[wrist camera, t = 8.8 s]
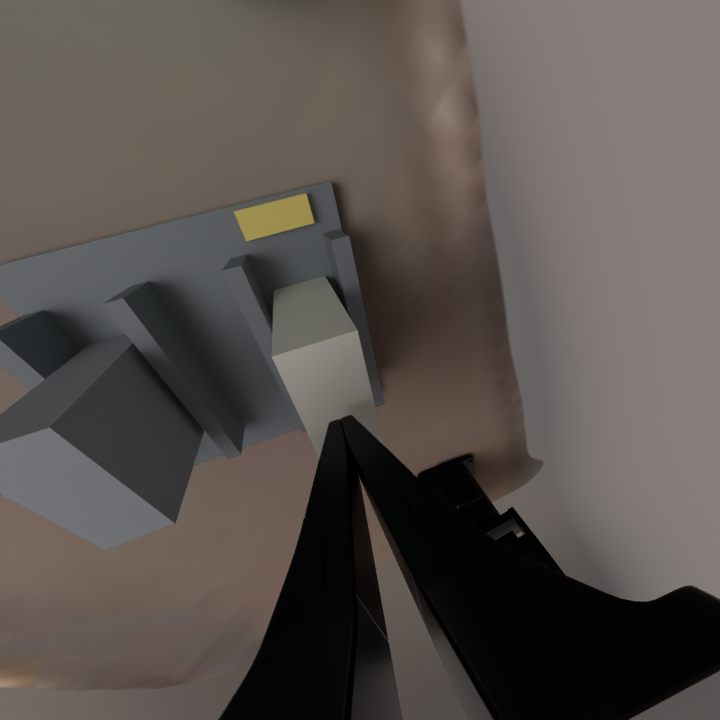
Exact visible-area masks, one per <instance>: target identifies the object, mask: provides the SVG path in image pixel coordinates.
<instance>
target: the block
mask: <svg viewBox="0 0 720 720" xmlns="http://www.w3.org/2000/svg"><path fill="white" fill-rule="evenodd" d="M272 359H273V361H274V363H275V365H276V367H277V369H278V372H279V374H280V376H281V378H282V380H283V382H284V384H285V386H286V389H287V391H288V393H289V395H290V397H291V399H292V401H293V403H294V406H295V408H296V410H297V412H298V414H299V416H300V418H301V420H302V422H303V425H304V427H305V429H306V431H307V433H308V435H309V437H310V439H311V442H312V444H313V446H314V448H315V450H316V452H317V454H318V456H319V458H320V455H321V451H322V447H323V443H324V439H325V435H326V431H327V428H328V424H329V422H331V421H333V420H336V419H340V420H341V418H342V417H345V416H348V415H353V416H354V417H355V418H356V419H357V420H358V421H359V422H360V423H361V424H362V425H363V426H364V427H365V428H366V429H367V430H368V431H369V432H370V433H371V434H372V435H373V436H375V437H376V438H377V439H378V440H379V441H380V442H381V443H382V444H383V445H384V443H383V438H382V434H381V430H380V425H379V421H378V417H377V412H376V408H375V404H374V399H373V395H372V391H371V386H370V382H369V378H368V374H367V369H366V365H365V361H364V356H363V352H362V348H361V343H360V339H359V335H358V330H357V329H356V327H355V325H354V324H353V322H352V320H351V319H350V317H349V315H348V314H347V312H346V310H345V309H344V307H343V305H342V304H341V302H340V300H339V299H338V297H337V295H336V293H335V292H334V290H333V288H332V287H331V285H330V283H329V282H328V280H327V278H326V277H325V276H323V277H319V278H316V279H312V280H309V281H305V282H302V283H298V284H295V285H291V286H287V287H284V288H280V289H277V290H274V300H273V329H272Z"/></svg>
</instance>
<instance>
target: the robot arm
mask: <svg viewBox="0 0 720 720" xmlns="http://www.w3.org/2000/svg"><path fill="white" fill-rule="evenodd" d="M473 473H474V457H473V456H472V455H467V456H465V457H462V458H460V459H457V460H454V461H452V462H449V463H447V464H444V465H441V466H439V467H436V468H434V469H431V470H428V471H426V472H423V473H421V474H419V475H418V477H416V476H414V474H413V473H412V472H411V471H410V470H409V469H408V468H407V467H406V466H405V465H404V464H403V463H402V462H401V461H399V460H398V459H397V458H396V457H395V456H394V455H393V454H392V453H391V452H390V451H389V450H388V449H387V448H386V447H385V446H384V445H383V444H382V443H381V442H380V441H379V440H378V439H377V438H376V437H375V436H373V435H372V434H371V433H370V432H369V431H368V430H367V429H366V428H365V427H364V426H363V425H362V424H361V423H360V422H359V421H358V420H357V419H356V418H355V417H354V416H353V415H348V416H345V417H342V418H341V420H340V419H336V420H333V421H331V422H329V424H328V428H327V431H326V435H325V439H324V443H323V447H322V451H321V455H320V459H319V462H318V466H317V470H316V474H315V478H314V482H313V486H312V490H311V493H310V497H309V501H308V505H307V509H306V513H305V517H306V518H304V520H303V524H302V528H301V532H300V535H299V539H298V542H297V546H296V549H295V553H294V556H293V558H292V561H291V564H290V567H289V570H288V573H287V576H286V579H285V581H284V584H283V587H282V590H281V592H280V595H279V598H278V601H277V603H276V606H275V609H274V611H273V614H272V617H271V620H270V622H269V625H268V628H267V631H266V633H265V636H264V639H263V641H262V644H261V646H260V648H259V651H258V653H257V655H256V657H255V659H254V661H253V664H252V666H251V667H250V669H249V671H248V673H247V675H246V677H245V678H244V680H243V681H242V683H241V685H240V686H239V688H238V689H237V691H236V693H235V694H234V696H233V697H232V699H231V700H230V702H229V704H228V705H227V707H226V709H225V710H224V711H223V713H222V715H221V716H220V718H219V719H218V720H402V714H401V709H400V703H399V698H398V692H397V686H396V681H395V675H394V669H393V664H392V658H391V652H390V647H389V643H388V636H387V630H386V625H385V619H384V614H383V608H382V603H381V596H380V592H379V585H378V580H377V574H376V568H375V563H374V557H373V551H372V546H371V540H370V534H369V529H368V523H367V518H366V512H365V506H364V501H363V495H362V489H361V484H360V480H361V482H362V484H363V487H364V489H365V491H366V493H367V496H368V498H369V500H370V502H371V505H372V507H373V509H374V511H375V514H376V516H377V518H378V520H379V523H380V525H381V527H382V529H383V531H384V534H385V536H386V538H387V540H388V543H389V545H390V547H391V549H392V552H393V554H394V556H395V558H396V561H397V563H398V565H399V567H400V570H401V571H402V574H403V576H404V578H405V581H406V583H407V585H408V587H409V590H410V592H411V594H412V596H413V599H414V601H415V603H416V605H417V608H418V610H419V612H420V614H421V616H422V619H423V621H424V623H425V625H426V628H427V630H428V632H429V634H430V637H431V639H432V641H433V643H434V646H435V648H436V650H437V652H438V654H439V657H440V659H441V661H442V664H443V666H444V668H445V670H446V672H447V675H448V677H449V679H450V681H451V684H452V686H453V688H454V690H455V693H456V695H457V697H458V699H459V702H460V703H461V706H462V708H463V711H464V712H465V715H466V717H467V719H468V720H720V599H718V598H716V597H715V596H713V595H711V594H709V593H706V592H705V591H702V590H700V589H699V588H697V587H694V586H684V587H681V588H679V589H676V590H674V591H672V592H670V593H668V594H666V595H664V596H662V597H660V598H657V599H655V600H652V601H648V602H639V601H638V602H637V601H631V600H626V599H621V598H618V597H615V596H613V595H610V594H607V593H605V592H602V591H600V590H598V589H596V588H593V587H591V586H589V585H586V584H584V583H582V582H580V581H577V580H575V579H573V578H570V577H568V576H566V575H565V574H564V573H563V571H562V570H561V569H560V567H559V566H558V565H557V563H556V562H555V561H554V559H553V558H552V557H551V556H550V554H549V553H548V552H547V550H546V549H545V548H544V547H543V545H542V544H541V543H540V541H539V540H538V539H537V537H536V536H535V535H534V534H533V532H532V531H531V530H530V529H529V528H528V526H527V525H526V523H525V522H524V521H523V520H522V518H521V517H520V516H519V515H518V513H517V512H516V511H515V509H514V508H513V507H511V508H510V509H508V511H507V512H505V513H503V514H502V515H500V514H499V512H498V511H497V510H496V508H495V507H494V505H493V504H492V502H491V501H490V500H489V498H488V497H487V495H486V494H485V492H484V491H483V489H482V488H481V487H480V485H479V484H478V482H477V481H476V479H475V478H474V477H473ZM358 474H359V475H358ZM359 477H360V479H359ZM521 531H522V533H523V534H524V535H522V536H521V537H519V538H518V537H517V536H516V534H518V533H519V532H521Z"/></svg>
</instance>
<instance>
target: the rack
mask: <svg viewBox="0 0 720 720" xmlns="http://www.w3.org/2000/svg"><path fill="white" fill-rule="evenodd" d="M323 276H325V277H326V278H327V280H328V282H329V283H330V285H331V287H332V288H333V290H334V292H335V293H336V295H337V297H338V299H339V300H340V302H341V304H342V305H343V307H344V309H345V310H346V312H347V314H348V315H349V317H350V319H351V320H352V322H353V324H354V325H355V327H356V329H357V330H358V335H359V339H360V343H361V348H362V352H363V356H364V361H365V365H366V369H367V374H368V378H369V382H370V386H371V391H372V395H373V399H374V404H375V407H377V406H380V405H383V404H385V402H384V398H383V393H382V388H381V384H380V379H379V374H378V369H377V365H376V360H375V355H374V351H373V346H372V341H371V336H370V332H369V327H368V322H367V318H366V313H365V308H364V304H363V299H362V294H361V289H360V285H359V280H358V275H357V271H356V266H355V261H354V257H353V252H352V247H351V242H350V238H349V235H347V234H345V233H343V232H342V228H341V223H340V219H339V214H338V210H337V205H336V201H335V196H334V192H333V187H332V183H331V181H330V182H326V183H322V184H318V185H314V186H310V187H306V188H302V189H298V190H294V191H290V192H286V193H283V194H279V195H275V196H271V197H267V198H263V199H259V200H255V201H251V202H247V203H243V204H239V205H235V206H231V207H227V208H223V209H219V210H215V211H211V212H207V213H204V214H200V215H196V216H192V217H188V218H184V219H180V220H176V221H172V222H168V223H164V224H160V225H156V226H152V227H148V228H144V229H140V230H136V231H132V232H128V233H125V234H121V235H117V236H113V237H109V238H105V239H101V240H97V241H93V242H89V243H85V244H81V245H77V246H73V247H69V248H65V249H61V250H57V251H53V252H49V253H46V254H42V255H38V256H34V257H30V258H26V259H22V260H18V261H14V262H10V263H6V264H2V265H0V299H1V300H2V301H3V302H4V303H5V304H6V305H7V306H8V307H9V308H10V309H11V310H12V311H13V312H14V313H15V314H16V315H17V316H18V317H19V318H17V319H15V320H13V321H11V322H9V323H7V324H4V325H2V326H0V366H1V367H2V368H4V369H5V370H6V371H7V372H8V373H10V374H11V375H12V376H13V377H15V378H16V379H17V380H18V381H19V382H21V383H22V384H23V385H24V386H26V387H27V388H28V389H29V390H30V392H28V393H27V394H26V395H25V396H23V397H22V398H21V399H20V400H18V401H17V402H16V403H14V404H13V405H12V406H11V407H9V408H8V409H7V410H6V411H4V412H3V413H2V414H1V415H0V495H2V496H4V497H6V498H8V499H10V500H12V501H13V502H15V503H17V504H19V505H21V506H23V507H25V508H27V509H28V510H30V511H32V512H34V513H36V514H38V515H40V516H41V517H43V518H45V519H47V520H49V521H51V522H53V523H55V524H56V525H58V526H60V527H62V528H64V529H66V530H68V531H70V532H71V533H73V534H75V535H77V536H79V537H81V538H83V539H84V540H86V541H88V542H90V543H92V544H94V545H96V546H98V547H99V548H101V549H103V550H106V549H108V548H111V547H114V546H116V545H119V544H122V543H124V542H127V541H130V540H133V539H135V538H138V537H141V536H143V535H146V534H149V533H152V532H154V531H157V530H160V529H162V528H165V527H168V526H171V525H173V524H175V523H176V520H177V517H178V513H179V510H180V507H181V504H182V500H183V497H184V494H185V491H186V488H187V484H188V481H189V478H190V475H191V472H192V468H193V466H194V465H196V464H199V463H202V462H205V461H208V460H211V459H214V458H217V457H219V456H222V455H225V456H226V457H227V459H229V458H232V457H235V456H238V455H240V454H241V451H242V448H245V447H248V446H251V445H254V444H257V443H259V442H262V441H265V440H268V439H271V438H274V437H277V436H280V435H282V434H285V433H288V432H291V431H294V430H297V429H301V431H302V433H303V432H306V429H305V427H304V425H303V422H302V420H301V418H300V416H299V414H298V412H297V410H296V408H295V406H294V403H293V401H292V399H291V397H290V395H289V393H288V391H287V389H286V386H285V384H284V382H283V380H282V378H281V376H280V374H279V372H278V369H277V367H276V365H275V363H274V361H273V359H272V329H273V300H274V290H277V289H280V288H284V287H287V286H291V285H295V284H298V283H302V282H305V281H309V280H312V279H316V278H319V277H323Z"/></svg>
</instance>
